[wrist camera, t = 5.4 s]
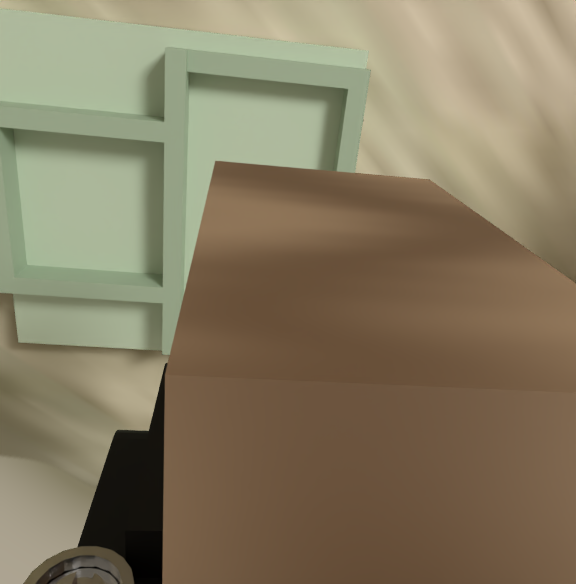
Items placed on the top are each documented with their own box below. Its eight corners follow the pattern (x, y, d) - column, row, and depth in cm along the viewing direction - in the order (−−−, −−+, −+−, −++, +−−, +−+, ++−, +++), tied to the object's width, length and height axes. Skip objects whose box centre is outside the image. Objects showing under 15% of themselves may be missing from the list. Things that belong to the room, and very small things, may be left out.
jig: (363, 50, 24) (376, 51, 21) (319, 348, 30) (325, 375, 27) (-8, 7, 22) (-40, 3, 20) (27, 330, 28) (6, 358, 26)
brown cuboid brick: (429, 179, 10) (740, 399, 4) (350, 557, 14) (438, 970, 8) (215, 160, 10) (166, 373, 3) (196, 556, 14) (157, 994, 7)
